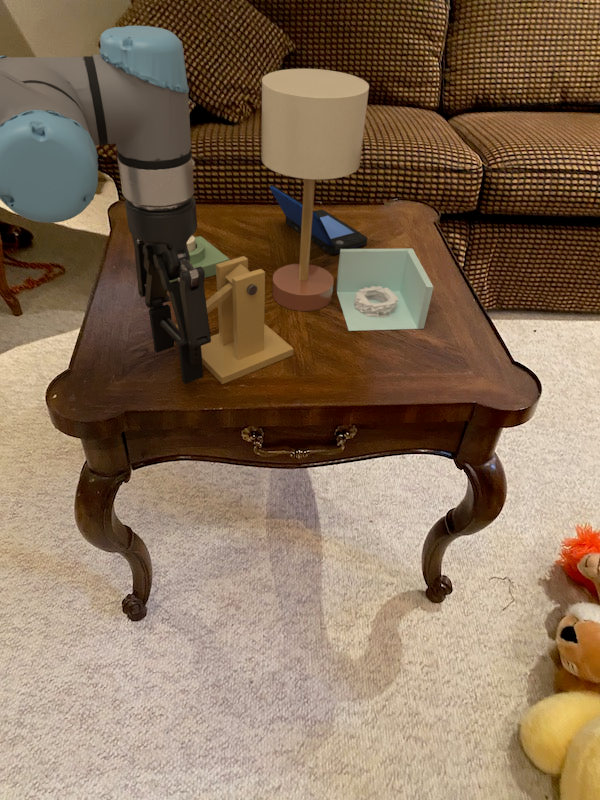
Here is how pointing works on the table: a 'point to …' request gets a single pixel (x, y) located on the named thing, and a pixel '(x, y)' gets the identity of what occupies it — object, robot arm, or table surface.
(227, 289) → the lamp lever
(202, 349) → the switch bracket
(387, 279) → the right angle wall
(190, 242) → the button
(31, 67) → the robot arm
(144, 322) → the table surface
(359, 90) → the lamp
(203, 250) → the switch box
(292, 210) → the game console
